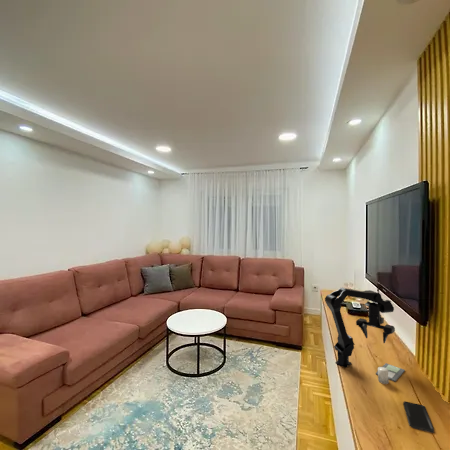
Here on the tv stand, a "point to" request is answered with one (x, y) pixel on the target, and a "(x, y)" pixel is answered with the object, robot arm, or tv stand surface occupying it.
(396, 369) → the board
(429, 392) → the tv stand surface
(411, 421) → the phone
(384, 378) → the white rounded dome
